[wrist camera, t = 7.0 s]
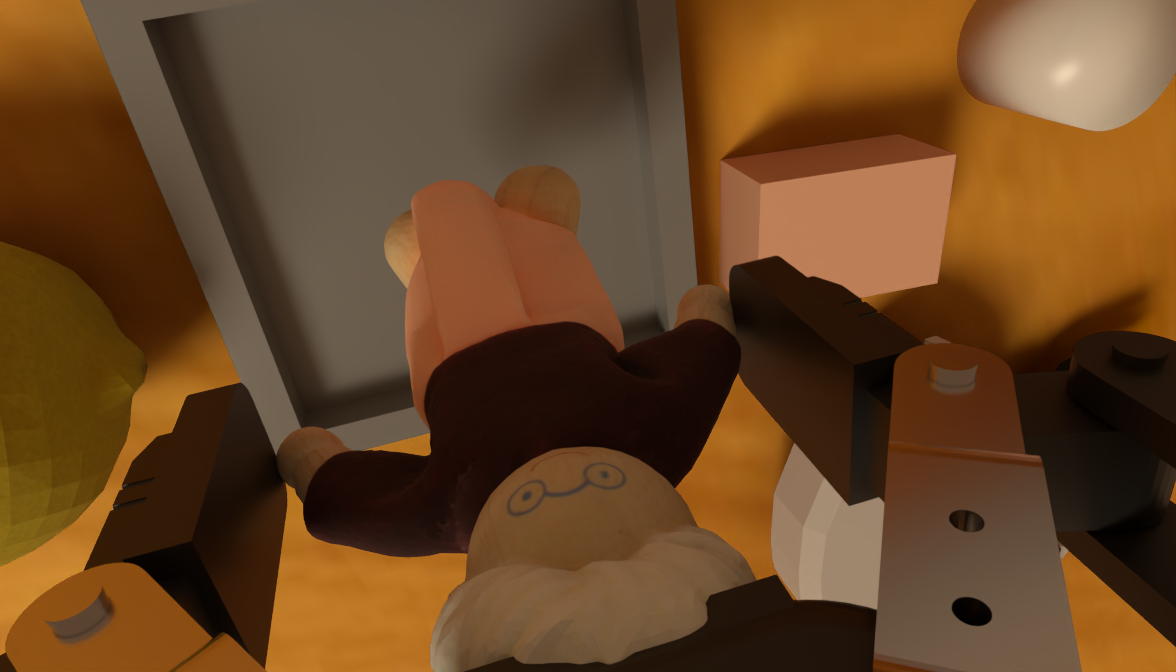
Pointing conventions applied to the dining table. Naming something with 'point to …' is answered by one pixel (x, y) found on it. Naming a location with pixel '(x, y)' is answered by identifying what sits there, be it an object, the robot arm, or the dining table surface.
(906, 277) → the terracotta block
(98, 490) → the lemon
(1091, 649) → the dining table surface
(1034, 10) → the white rounded cylinder block
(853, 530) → the robot toy
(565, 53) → the tray
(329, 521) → the grandmother figurine
